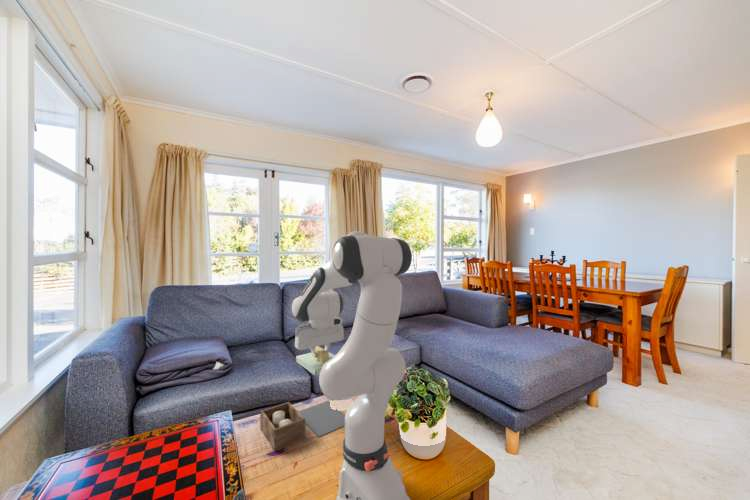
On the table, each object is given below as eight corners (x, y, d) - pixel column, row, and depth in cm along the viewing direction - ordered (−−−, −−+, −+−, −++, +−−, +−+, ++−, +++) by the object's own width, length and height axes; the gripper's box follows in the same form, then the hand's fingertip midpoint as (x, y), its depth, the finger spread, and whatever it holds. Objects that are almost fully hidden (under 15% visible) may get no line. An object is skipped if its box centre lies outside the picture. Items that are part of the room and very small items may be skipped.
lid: (345, 366, 116) (345, 352, 116) (315, 375, 108) (315, 360, 108) (324, 354, 129) (324, 341, 129) (296, 361, 121) (295, 347, 121)
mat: (353, 422, 116) (353, 421, 116) (318, 437, 107) (318, 436, 107) (328, 401, 132) (328, 400, 132) (295, 412, 123) (295, 412, 123)
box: (305, 438, 107) (304, 418, 106) (274, 451, 100) (274, 430, 100) (288, 419, 118) (288, 401, 118) (260, 429, 112) (260, 411, 112)
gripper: (298, 327, 109) (298, 364, 109) (345, 318, 122) (345, 352, 122) (291, 323, 114) (291, 359, 114) (337, 316, 127) (337, 348, 127)
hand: (320, 355), depth 118 cm, fingers closed on lid, 3 cm apart
